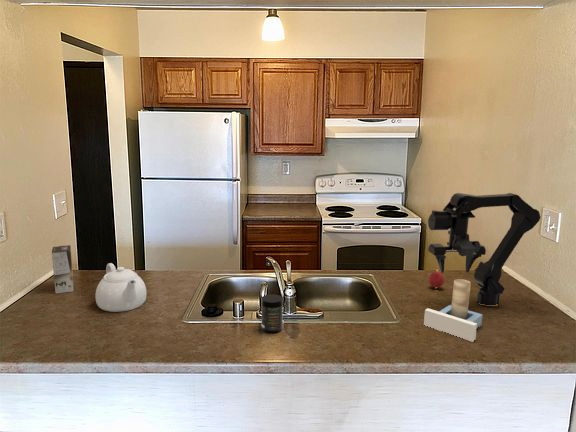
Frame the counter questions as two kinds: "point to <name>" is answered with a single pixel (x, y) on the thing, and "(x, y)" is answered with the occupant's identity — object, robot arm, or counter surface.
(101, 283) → the teapot
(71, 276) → the coffee box
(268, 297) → the supplement container
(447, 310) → the socket block
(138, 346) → the counter surface
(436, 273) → the onion
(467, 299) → the dowel
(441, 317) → the white base plate
